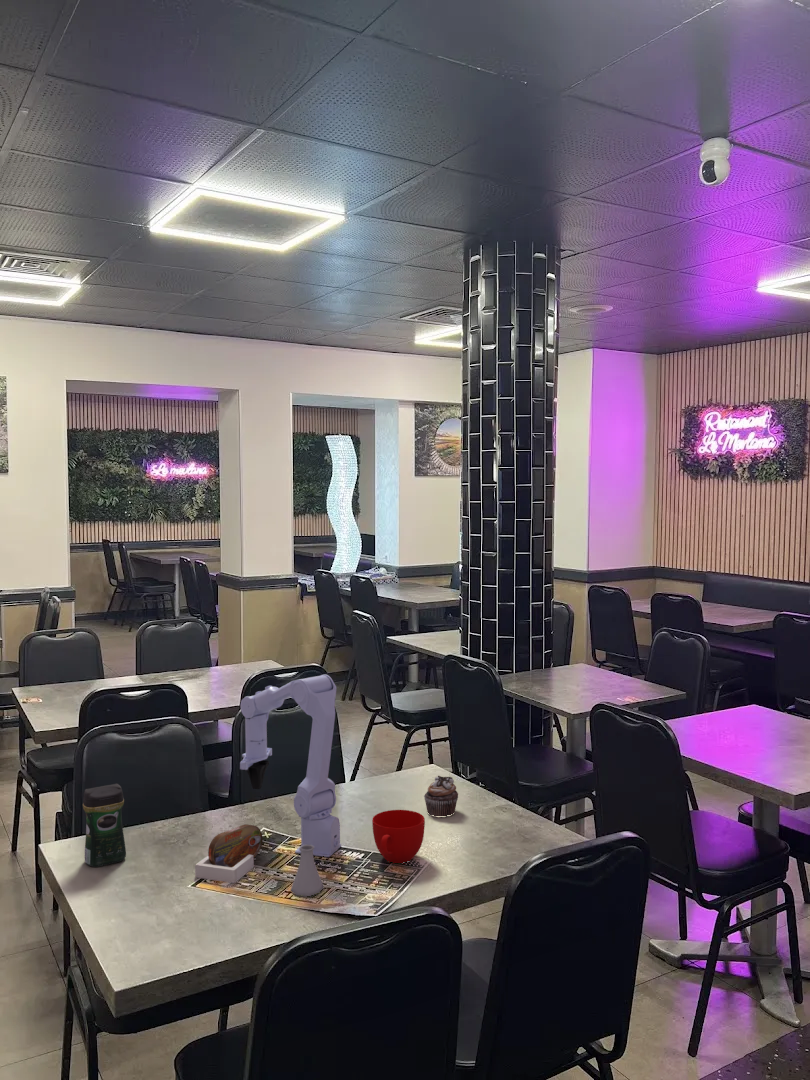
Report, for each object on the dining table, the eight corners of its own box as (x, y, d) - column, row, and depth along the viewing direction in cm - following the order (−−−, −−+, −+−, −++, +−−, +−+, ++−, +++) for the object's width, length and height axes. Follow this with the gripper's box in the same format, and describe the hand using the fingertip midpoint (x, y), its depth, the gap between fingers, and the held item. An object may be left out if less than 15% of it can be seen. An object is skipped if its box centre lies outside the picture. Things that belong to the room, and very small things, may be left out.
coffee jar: (121, 851, 219) (119, 778, 218) (128, 861, 212) (127, 787, 211) (81, 859, 214) (79, 785, 213) (87, 870, 207) (86, 794, 206)
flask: (310, 900, 190) (309, 855, 190) (284, 892, 194) (284, 849, 194) (329, 888, 196) (329, 844, 196) (304, 881, 200) (304, 838, 200)
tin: (214, 874, 204) (213, 839, 204) (206, 870, 206) (205, 836, 206) (263, 854, 216) (263, 821, 215) (255, 851, 218) (255, 818, 217)
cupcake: (426, 806, 250) (425, 772, 249) (459, 807, 248) (459, 773, 248) (422, 818, 240) (422, 782, 240) (456, 819, 239) (456, 783, 239)
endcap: (253, 867, 208) (253, 855, 208) (234, 883, 199) (234, 870, 199) (215, 862, 211) (215, 849, 211) (195, 877, 203) (195, 864, 203)
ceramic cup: (358, 871, 205) (357, 830, 205) (384, 845, 221) (383, 807, 220) (409, 879, 200) (408, 837, 200) (432, 852, 216) (431, 812, 216)
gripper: (255, 731, 242) (256, 778, 243) (229, 744, 229) (230, 795, 229) (278, 733, 240) (279, 781, 241) (253, 747, 226) (253, 798, 227)
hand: (256, 788), depth 235 cm, fingers closed
